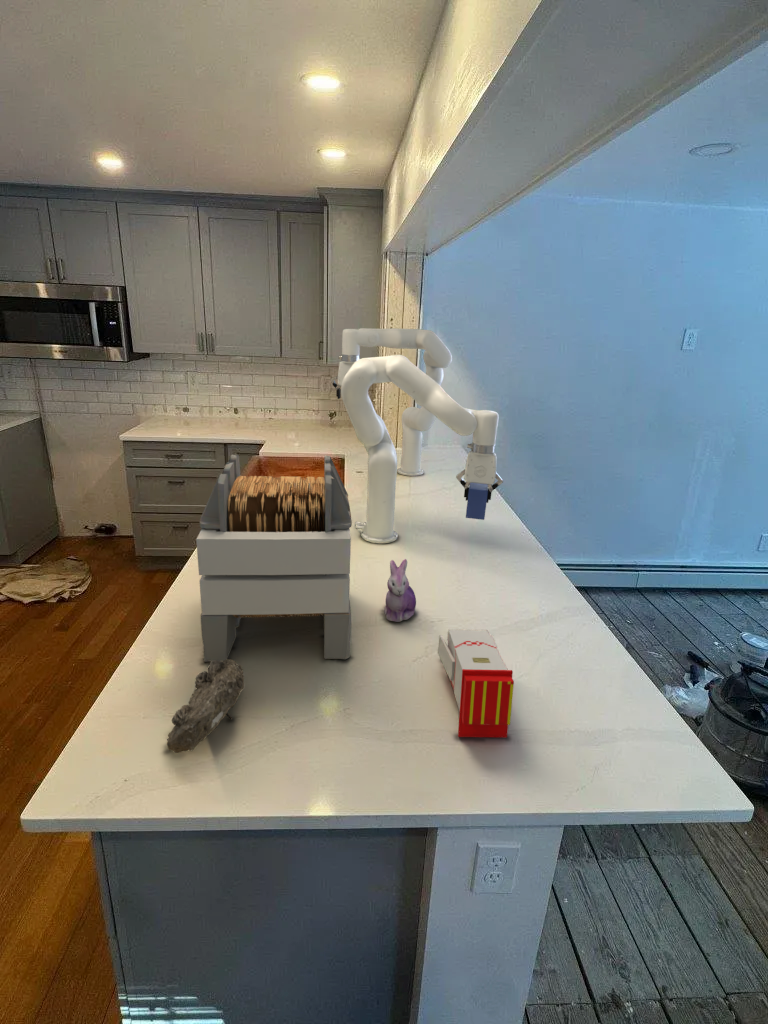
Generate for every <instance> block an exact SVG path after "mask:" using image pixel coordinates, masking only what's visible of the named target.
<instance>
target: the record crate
mask: <svg viewBox="0 0 768 1024" xmlns="http://www.w3.org/2000/svg"><path fill="white" fill-rule="evenodd" d="M323 457H324V463H323V464H324V465H323V467H324V469H323V471H324V472H323V476H317V477H316V476H307V477H306V476H305V477H301V476H287V475H286V476H283V475H282V476H280V475H279V477H278V476H274V477H273V476H272V475H270V476H266V475H259V476H257V475H254V476H253V475H249V476H246V475H241V464H240V455H239V454H232V453H231V455H230V457H229V459H228V461H227V462H226V463H225V466H224V468H223V470H222V472H221V473H220V474H219V475H218V477H217V479H216V482H215V483H214V486H213V489H212V491H211V494H210V495H209V498H208V499H207V502H206V504H205V507H204V509H203V511H202V514H201V516H200V519H199V527H200V530H199V534H198V535H197V536H196V539H195V540H196V554H197V566H198V576H201V577H200V578H199V592H200V607H201V609H200V610H201V614H200V627H201V628H200V629H201V631H200V632H201V641H202V646H203V658H202V660H203V662H206V663H210V662H211V661H212V660H217V661H222V662H223V661H224V660H227V659H228V657H229V655H230V652H231V650H232V648H233V645H234V643H235V640H236V638H237V629H236V628H239V627H240V622H241V619H242V618H267V617H268V618H281V617H282V618H291V617H293V618H296V617H319V616H320V617H323V650H324V652H323V653H324V654H323V655H324V656H323V657H324V660H347V659H349V658H350V657H351V645H352V644H351V642H352V641H351V640H352V639H351V638H352V609H351V600H350V599H351V598H350V589H351V588H350V586H351V585H350V584H351V578H350V577H351V576H350V575H351V546H352V537H351V536H352V535H351V531H350V529H351V528H352V523H353V520H352V519H353V518H352V513H351V506H350V500H349V494H348V491H347V490H346V487H345V485H344V482H343V481H342V478H341V476H340V474H339V472H338V470H337V468H336V466H335V463H334V461H333V459H332V457H331V455H324V456H323Z"/></svg>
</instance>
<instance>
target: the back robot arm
mask: <svg viewBox="0 0 768 1024" xmlns="http://www.w3.org/2000/svg"><path fill="white" fill-rule="evenodd" d="M341 334H342V335H341V355H338V360H341V361H339V364H338V373H337V375H335V376H334V377H331V378H330V383H331V385H332V386H333V387H334V389H335V390H336V392H335V393H336V394H335V395H336V398H337V400H340V399H342V396H341V386H342V382H343V379H344V377H345V375H346V374H347V372H348V371H349V369H350V368H351V367H352V365H353V364H354V363H355V362H356V361H357V360H359V359H360V357H361V356H360V352H361V347H364V348H374V347H382V348H383V347H384V348H389V349H396V350H397V349H399V350H402V349H403V350H404V349H405V350H424V351H423V355H422V356H423V357H422V358H423V362H424V364H425V369H426V370H425V374H426V375H428V376H429V377H430V378H432V379H433V380H434V381H436V382H437V383H438V384H439V385H440V386H441V385H442V383H443V380H444V369H446V368H449V366H450V365H451V364H452V362H453V354H452V352H451V351H450V349H449V348H448V347H447V345H446V344H445V342H443V340H442V339H441V338H440V337H439V336H438V335H437V333H436V332H434V331H433V330H430V329H422V328H397V327H394V328H393V327H392V328H391V327H389V328H374V327H373V328H369V327H360V328H344V329H342V333H341ZM336 380H337V383H336ZM414 402H415V403H416V405H417V406H420V408H419V407H417V406H409V407H406V408H405V409H404V410H403V411H402V414H401V426H402V439H401V456H400V467H398V468H397V473H398V474H400V475H402V476H407V477H416V476H422V475H423V474H424V470H423V469H422V468H421V463H422V451H423V450H422V449H423V432H426V431H428V430H430V429H431V427H432V426H433V425H434V423H435V422H436V420H437V417H436V416H434V415H433V414H432V413H431V412H429V411H428V410H426V409H425V408H424V407H423V406H422V405H420V404H419V403H418V402H417V401H415V400H414Z"/></svg>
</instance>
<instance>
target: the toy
mask: <svg viewBox="0 0 768 1024" xmlns="http://www.w3.org/2000/svg"><path fill="white" fill-rule="evenodd" d="M446 640H447V643H446V641H445V639H444V636H443V635H442V634H439V637H438V646H437V656H438V657H439V659H440V661H441V663H442V666H443V668H444V670H445V672H446V674H447V677H448V679H449V681H450V684H451V687H452V690H453V693H454V697H455V701H456V705H457V708H458V711H459V714H458V715H459V716H458V730H457V731H458V732H457V737H458V738H508V731H509V726H510V725H511V717H512V707H513V697H514V696H513V695H514V684H515V680H514V679H513V673H514V671H513V670H512V669H508V667H507V665H506V662H505V661H504V659H503V658H502V655H501V653H500V651H499V649H498V647H497V643H496V639H495V637H494V635H493V634H491V632H490V631H489V629H467V628H466V629H465V628H463V629H461V628H460V629H459V628H448V630H447V639H446Z"/></svg>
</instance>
